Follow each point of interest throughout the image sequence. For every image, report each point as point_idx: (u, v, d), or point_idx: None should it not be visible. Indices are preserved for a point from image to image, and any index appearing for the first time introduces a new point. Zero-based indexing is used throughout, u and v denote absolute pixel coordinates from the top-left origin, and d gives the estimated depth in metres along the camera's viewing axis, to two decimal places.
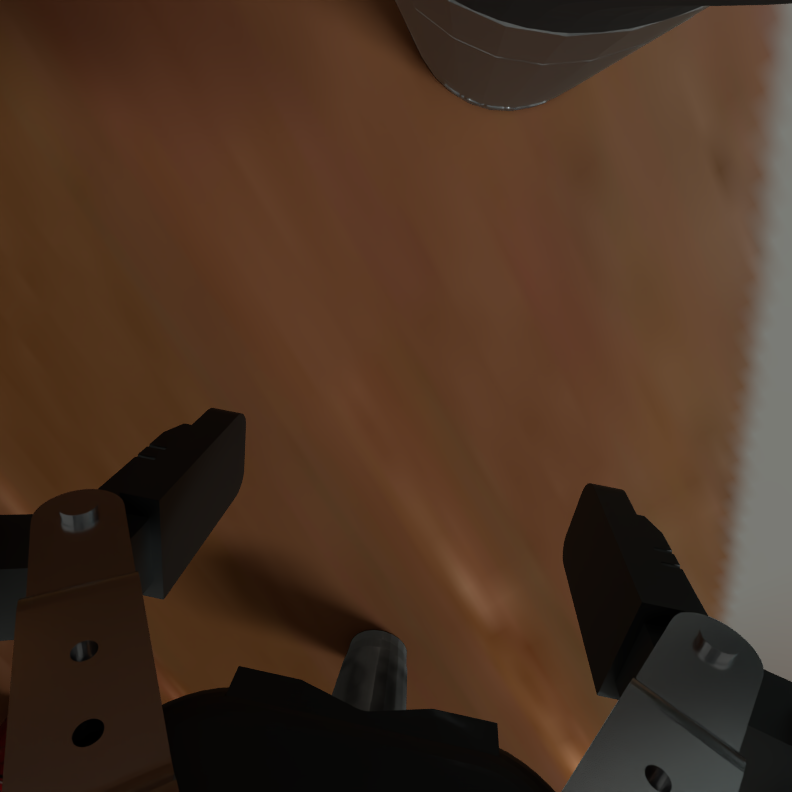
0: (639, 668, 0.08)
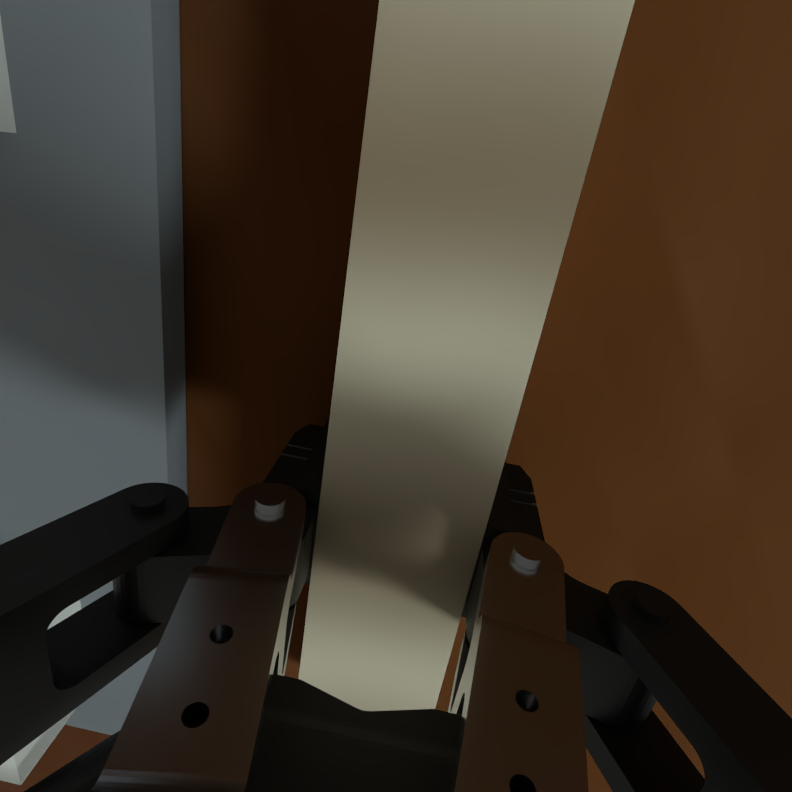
0: (476, 583, 0.09)
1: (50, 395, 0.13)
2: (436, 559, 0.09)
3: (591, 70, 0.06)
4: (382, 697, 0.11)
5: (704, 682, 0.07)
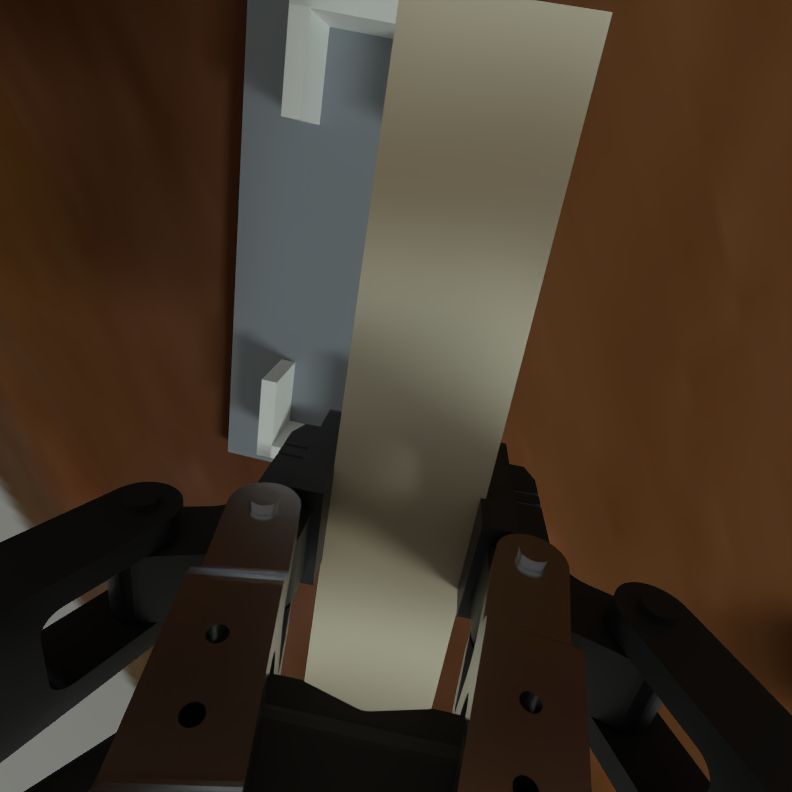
0: (480, 585, 0.09)
1: None
2: (440, 531, 0.10)
3: (572, 89, 0.07)
4: (387, 672, 0.12)
5: (710, 685, 0.07)
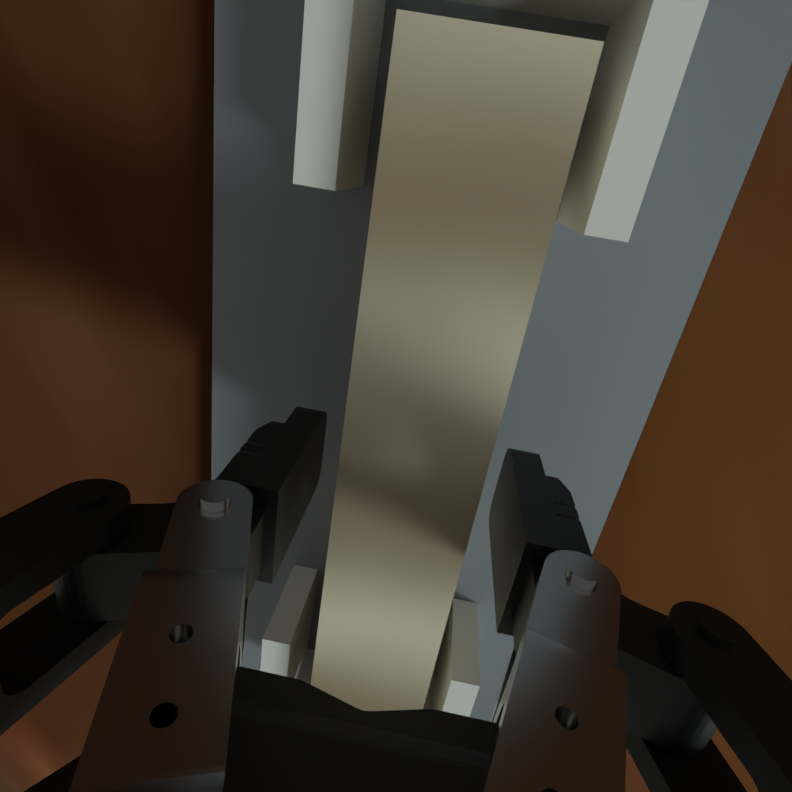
0: (525, 602, 0.09)
1: (523, 441, 0.14)
2: (437, 526, 0.11)
3: (564, 116, 0.08)
4: (390, 649, 0.13)
5: (768, 712, 0.06)
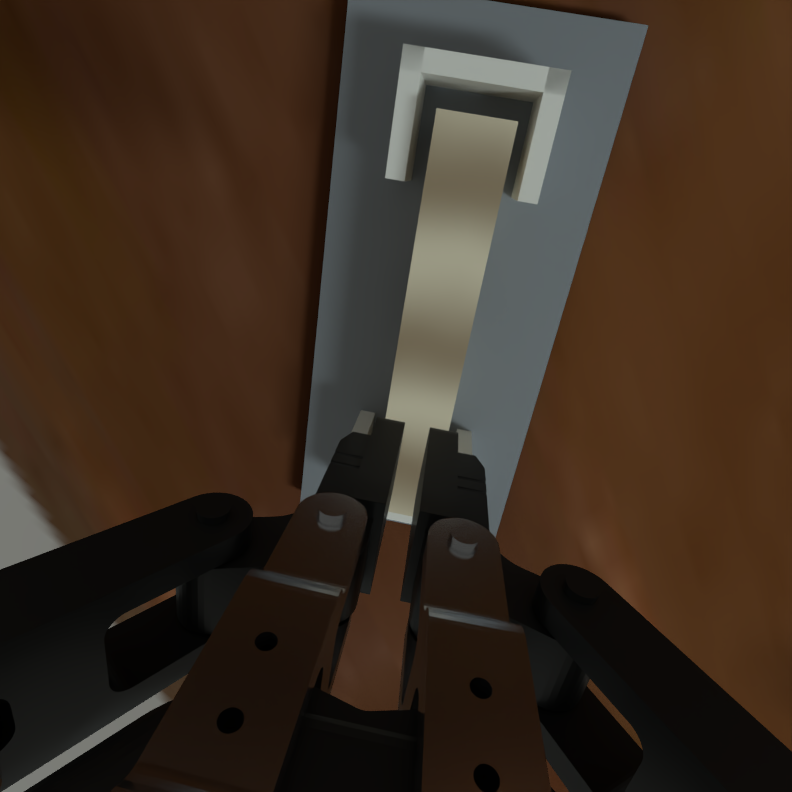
0: (418, 568, 0.09)
1: (497, 323, 0.26)
2: (450, 347, 0.22)
3: (504, 150, 0.19)
4: (424, 425, 0.24)
5: (635, 658, 0.07)
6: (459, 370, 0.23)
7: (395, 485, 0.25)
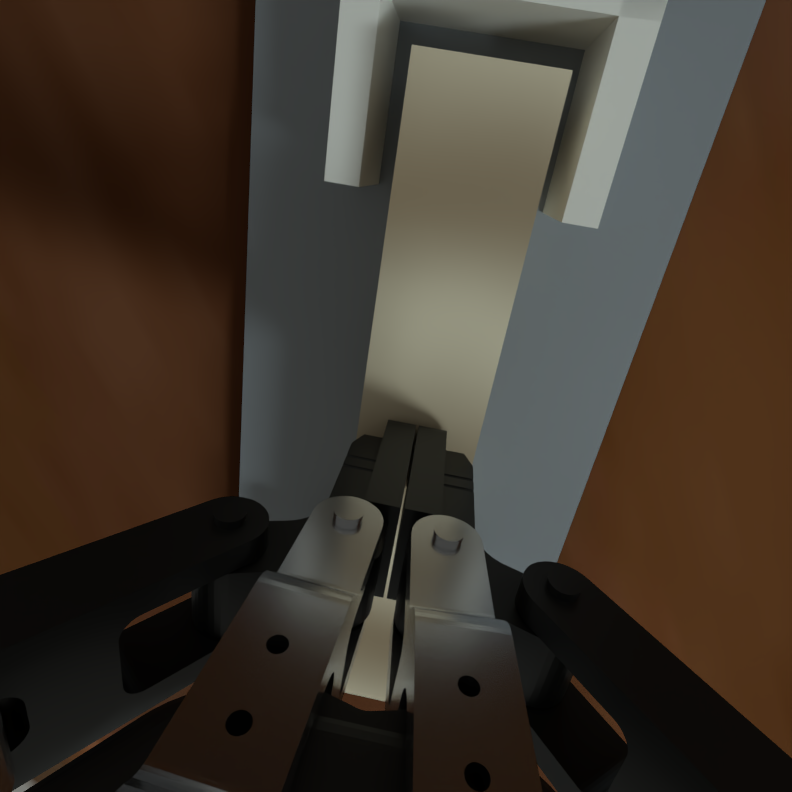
0: (403, 566, 0.09)
1: (516, 406, 0.16)
2: None
3: (543, 127, 0.10)
4: None
5: (618, 654, 0.07)
6: None
7: (357, 659, 0.16)
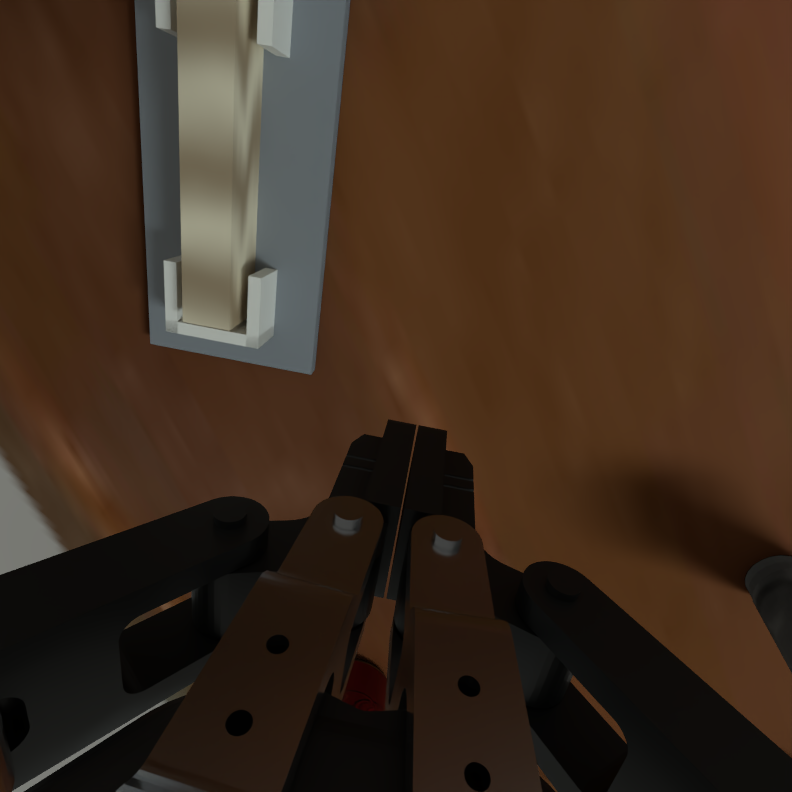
0: (403, 566, 0.09)
1: (282, 169, 0.31)
2: (219, 169, 0.28)
3: None
4: (211, 241, 0.30)
5: (618, 654, 0.07)
6: (229, 189, 0.28)
7: (198, 299, 0.31)
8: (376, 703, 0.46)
